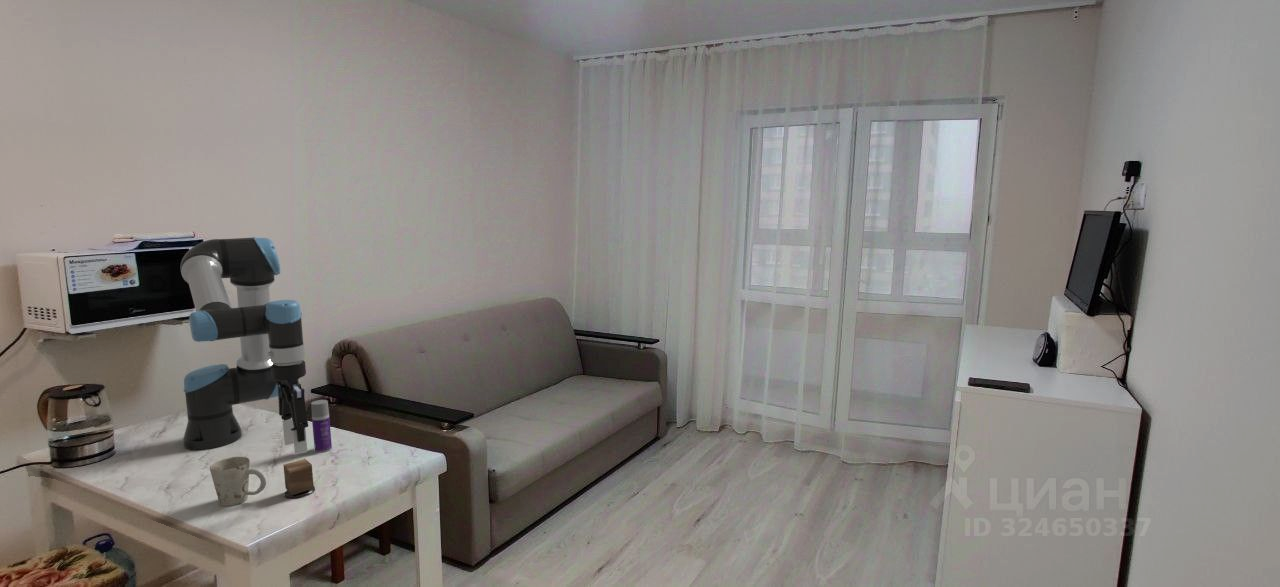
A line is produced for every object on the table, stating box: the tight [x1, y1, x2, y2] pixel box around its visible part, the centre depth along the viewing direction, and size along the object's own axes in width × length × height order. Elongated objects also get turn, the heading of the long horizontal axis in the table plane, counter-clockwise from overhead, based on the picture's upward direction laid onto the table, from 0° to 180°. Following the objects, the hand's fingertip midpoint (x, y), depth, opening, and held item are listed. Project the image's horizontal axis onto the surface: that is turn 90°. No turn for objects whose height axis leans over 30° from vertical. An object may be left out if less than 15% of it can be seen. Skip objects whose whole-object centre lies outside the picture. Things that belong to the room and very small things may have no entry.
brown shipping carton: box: [283, 458, 315, 495], centre depth 160 cm, size 5×5×7 cm
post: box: [284, 486, 316, 499], centre depth 160 cm, size 7×7×7 cm
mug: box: [209, 456, 267, 507], centre depth 156 cm, size 8×13×10 cm, turn 95°
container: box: [310, 399, 333, 453], centre depth 187 cm, size 5×5×15 cm
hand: (295, 447), depth 159 cm, fingers open, 8 cm apart
